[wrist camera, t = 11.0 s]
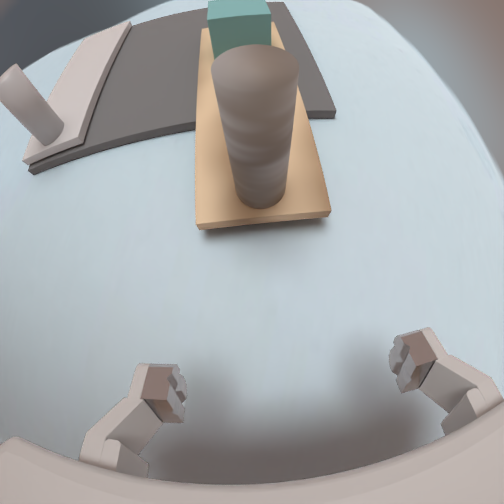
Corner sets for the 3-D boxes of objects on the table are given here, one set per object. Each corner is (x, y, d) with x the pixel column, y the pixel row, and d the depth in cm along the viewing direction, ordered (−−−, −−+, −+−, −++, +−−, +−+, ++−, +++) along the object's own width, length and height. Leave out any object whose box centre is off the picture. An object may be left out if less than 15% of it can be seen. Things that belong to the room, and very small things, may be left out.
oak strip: (199, 230, 17) (132, 122, 7) (203, 35, 23) (188, -36, 14) (328, 216, 17) (384, 101, 7) (273, 28, 23) (273, -44, 14)
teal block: (215, 64, 20) (207, 19, 15) (215, 39, 21) (208, 1, 17) (271, 58, 20) (271, 13, 15) (264, 34, 21) (263, -4, 16)
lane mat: (33, 174, 21) (27, 170, 20) (90, 47, 28) (88, 42, 27) (334, 118, 20) (336, 110, 20) (283, 7, 27) (283, 2, 26)
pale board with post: (27, 165, 20) (-30, 113, 10) (86, 43, 26) (63, -1, 17) (83, 142, 20) (24, 70, 10) (131, 25, 26) (112, -24, 17)
